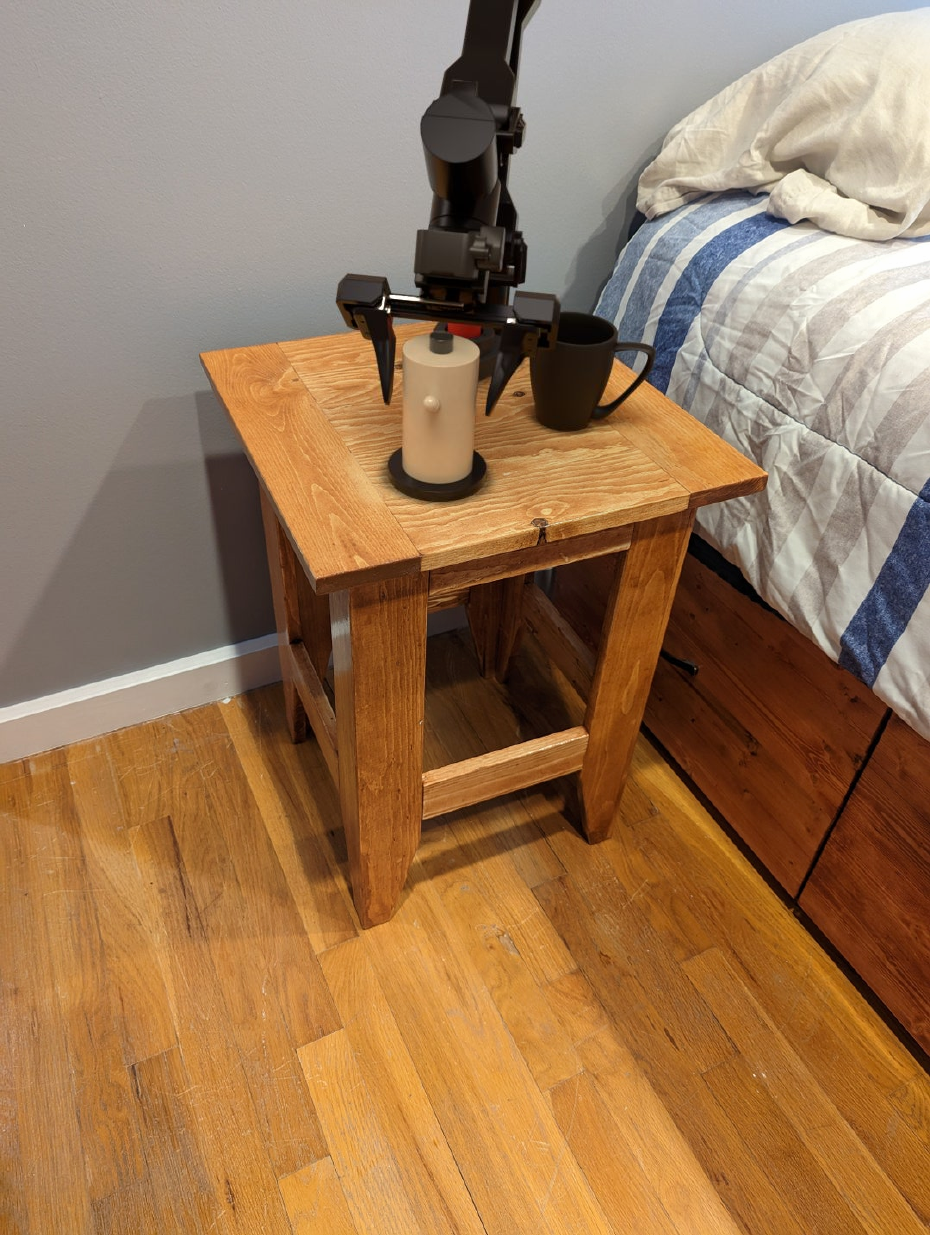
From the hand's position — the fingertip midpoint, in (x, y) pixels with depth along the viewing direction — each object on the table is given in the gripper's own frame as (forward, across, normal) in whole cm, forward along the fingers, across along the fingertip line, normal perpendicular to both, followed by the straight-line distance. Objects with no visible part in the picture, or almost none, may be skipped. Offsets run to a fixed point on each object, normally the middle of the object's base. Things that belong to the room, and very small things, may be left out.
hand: (436, 409), depth 73 cm
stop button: (-15, -1, +20) cm, 25 cm away
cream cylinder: (+4, 0, +4) cm, 6 cm away
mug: (-5, +13, +15) cm, 21 cm away
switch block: (-12, -1, +22) cm, 26 cm away
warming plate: (+4, 0, +6) cm, 7 cm away
